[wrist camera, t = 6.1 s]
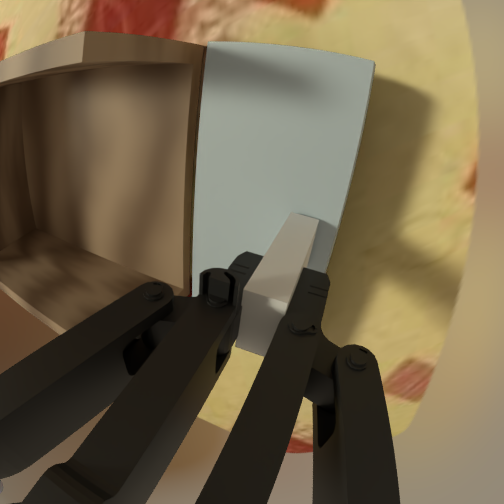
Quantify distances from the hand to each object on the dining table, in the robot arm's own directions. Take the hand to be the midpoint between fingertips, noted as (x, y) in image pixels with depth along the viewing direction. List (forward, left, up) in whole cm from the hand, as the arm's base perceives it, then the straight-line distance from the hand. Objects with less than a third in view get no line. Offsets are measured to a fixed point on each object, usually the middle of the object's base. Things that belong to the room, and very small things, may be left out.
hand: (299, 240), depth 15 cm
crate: (0, -18, -3) cm, 18 cm away
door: (0, -6, -2) cm, 7 cm away
